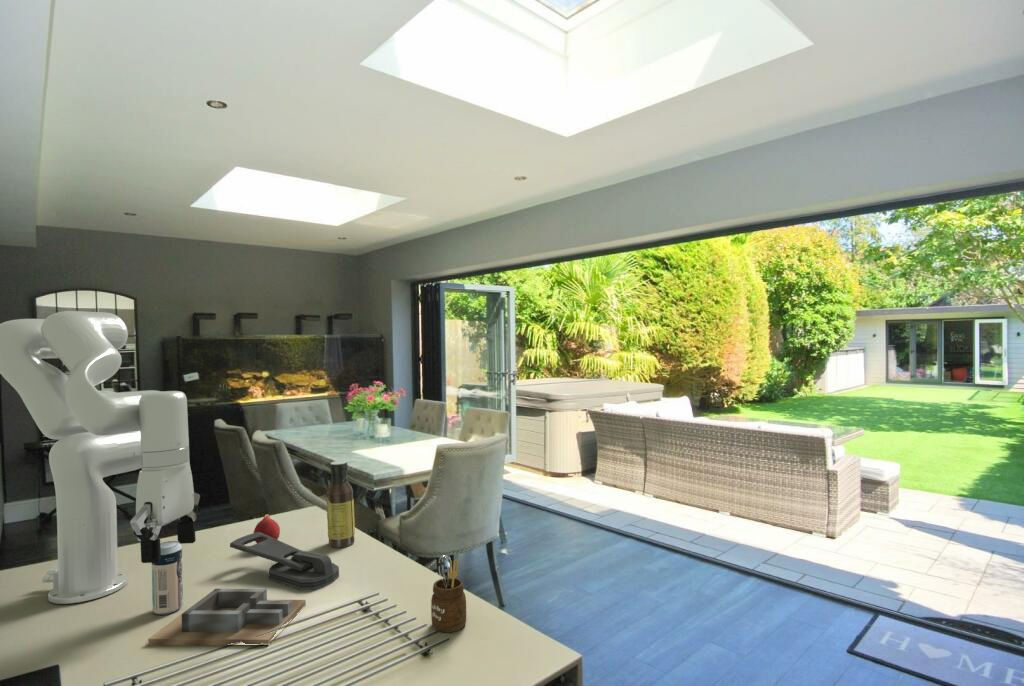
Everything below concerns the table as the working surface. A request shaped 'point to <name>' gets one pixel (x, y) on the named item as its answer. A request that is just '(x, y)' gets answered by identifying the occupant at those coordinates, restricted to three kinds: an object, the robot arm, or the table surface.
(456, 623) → the utensil holder
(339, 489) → the sauce bottle
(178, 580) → the beer can
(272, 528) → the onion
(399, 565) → the table surface
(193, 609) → the keyhole board
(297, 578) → the zipper pull
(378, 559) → the table surface
